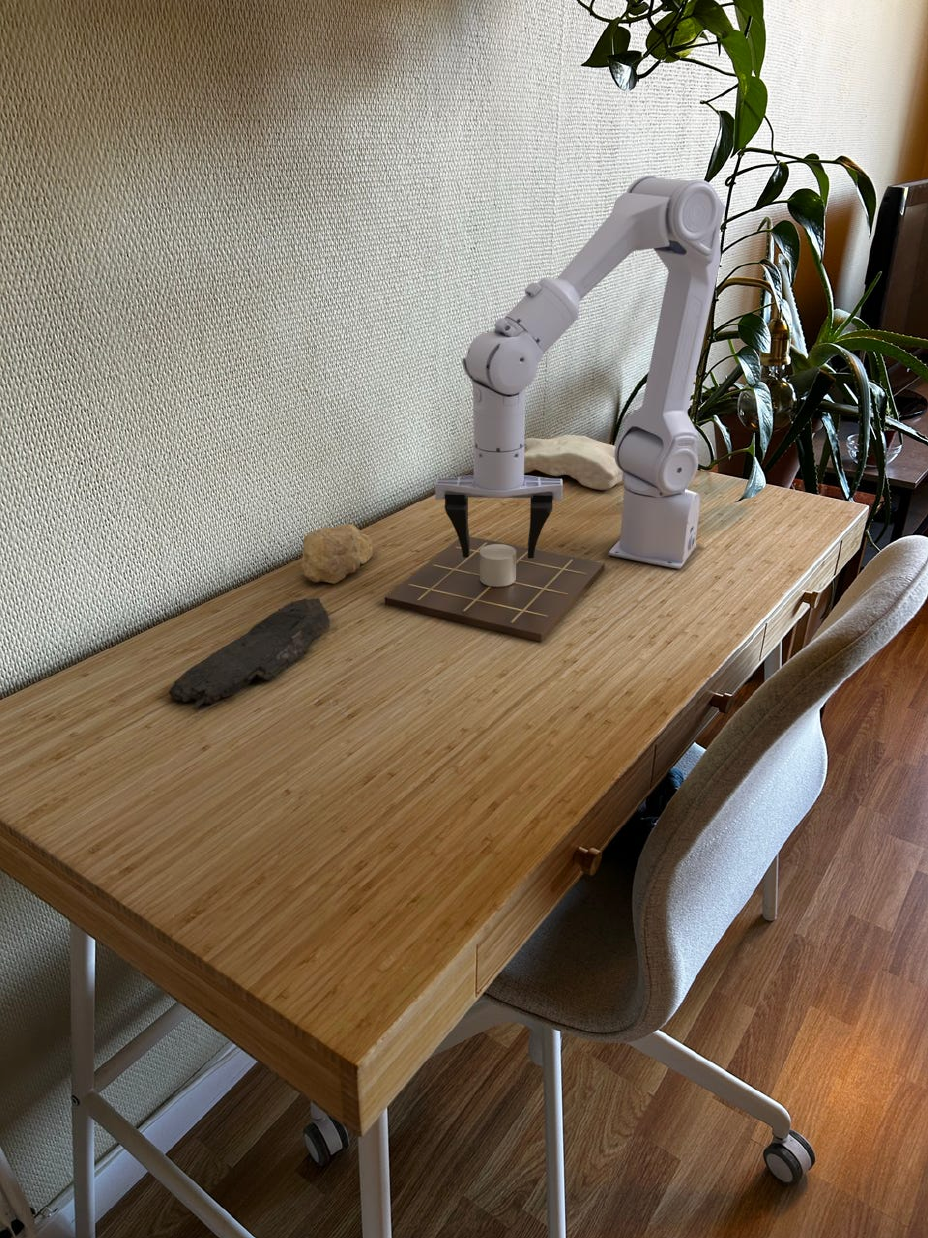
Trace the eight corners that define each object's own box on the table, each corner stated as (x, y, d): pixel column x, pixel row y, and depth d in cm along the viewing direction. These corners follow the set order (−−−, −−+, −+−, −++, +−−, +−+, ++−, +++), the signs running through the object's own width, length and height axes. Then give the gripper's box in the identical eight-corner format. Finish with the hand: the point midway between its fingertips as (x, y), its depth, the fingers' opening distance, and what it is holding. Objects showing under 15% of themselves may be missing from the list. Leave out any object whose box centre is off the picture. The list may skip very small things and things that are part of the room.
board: (604, 570, 115) (604, 562, 114) (541, 642, 99) (541, 633, 99) (463, 541, 123) (463, 534, 122) (384, 604, 107) (384, 596, 107)
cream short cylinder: (516, 571, 112) (516, 544, 110) (515, 587, 108) (516, 559, 107) (480, 570, 112) (480, 543, 111) (478, 586, 109) (478, 559, 107)
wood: (219, 722, 87) (214, 695, 85) (163, 700, 90) (158, 674, 89) (357, 623, 104) (355, 599, 102) (306, 608, 107) (303, 585, 105)
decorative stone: (650, 438, 146) (615, 461, 135) (647, 469, 148) (612, 494, 137) (531, 421, 156) (488, 440, 144) (530, 450, 158) (487, 471, 147)
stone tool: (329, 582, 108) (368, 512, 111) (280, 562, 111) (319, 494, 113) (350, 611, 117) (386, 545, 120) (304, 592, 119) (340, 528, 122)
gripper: (562, 433, 105) (558, 541, 112) (437, 432, 106) (440, 539, 113) (564, 453, 99) (560, 566, 106) (432, 452, 100) (435, 564, 107)
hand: (498, 554), depth 109 cm, fingers open, 7 cm apart
